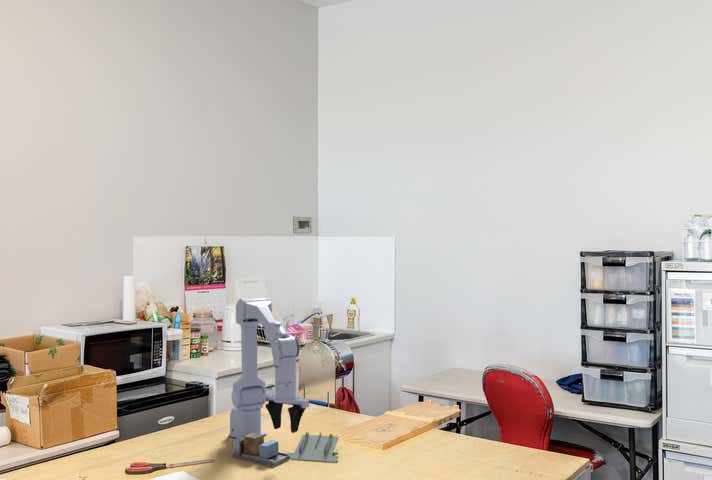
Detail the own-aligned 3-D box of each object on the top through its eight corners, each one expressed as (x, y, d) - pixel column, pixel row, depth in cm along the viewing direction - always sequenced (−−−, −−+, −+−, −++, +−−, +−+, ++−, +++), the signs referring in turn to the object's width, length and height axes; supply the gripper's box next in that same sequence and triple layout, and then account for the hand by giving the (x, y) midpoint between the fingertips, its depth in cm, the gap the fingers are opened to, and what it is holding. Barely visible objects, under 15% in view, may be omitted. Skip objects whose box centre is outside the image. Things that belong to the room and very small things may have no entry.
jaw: (259, 457, 188) (259, 444, 188) (271, 451, 192) (271, 439, 192) (266, 458, 186) (266, 446, 186) (278, 453, 191) (278, 441, 191)
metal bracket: (296, 427, 202) (345, 430, 199) (298, 444, 203) (346, 447, 200) (282, 456, 188) (334, 459, 185) (284, 473, 190) (336, 477, 187)
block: (244, 453, 192) (243, 436, 191) (253, 449, 195) (253, 432, 195) (254, 456, 189) (254, 438, 189) (263, 452, 193) (263, 434, 193)
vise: (231, 457, 192) (231, 440, 192) (249, 449, 198) (249, 433, 198) (273, 467, 184) (273, 449, 184) (290, 458, 190) (289, 441, 190)
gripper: (255, 380, 186) (256, 429, 186) (297, 387, 178) (298, 438, 179) (272, 375, 192) (272, 423, 192) (313, 382, 184) (313, 431, 185)
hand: (285, 430), depth 186 cm, fingers open, 5 cm apart
